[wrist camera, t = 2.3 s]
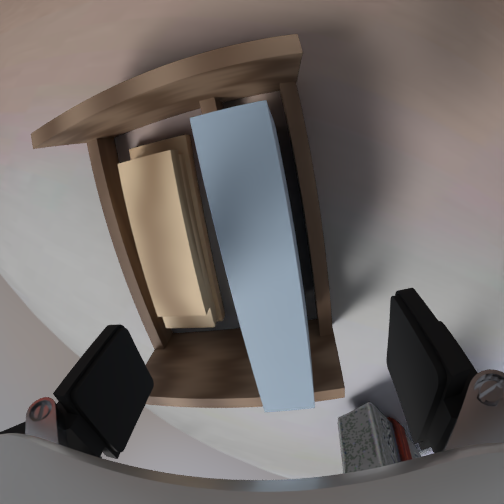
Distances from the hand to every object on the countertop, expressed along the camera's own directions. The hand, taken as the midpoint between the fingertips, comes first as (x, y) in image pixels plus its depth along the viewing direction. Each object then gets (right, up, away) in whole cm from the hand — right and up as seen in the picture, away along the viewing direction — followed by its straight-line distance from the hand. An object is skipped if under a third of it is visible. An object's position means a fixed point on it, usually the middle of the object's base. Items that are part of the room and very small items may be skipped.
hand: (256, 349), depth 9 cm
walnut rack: (-3, +5, +17) cm, 18 cm away
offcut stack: (-7, +5, +18) cm, 20 cm away
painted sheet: (+2, +6, +16) cm, 18 cm away
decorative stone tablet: (+22, -27, +27) cm, 44 cm away
